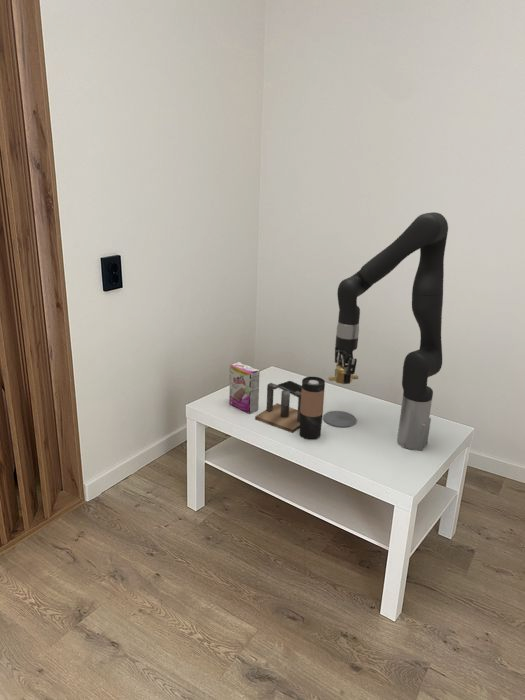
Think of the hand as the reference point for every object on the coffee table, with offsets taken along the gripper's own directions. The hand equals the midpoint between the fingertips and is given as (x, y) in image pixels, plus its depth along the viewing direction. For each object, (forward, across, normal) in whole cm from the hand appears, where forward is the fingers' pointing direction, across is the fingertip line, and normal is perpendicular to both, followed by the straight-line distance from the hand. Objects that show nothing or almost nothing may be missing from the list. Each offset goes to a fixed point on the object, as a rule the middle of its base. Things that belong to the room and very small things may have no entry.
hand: (343, 379), depth 194 cm
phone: (+17, +28, +8) cm, 33 cm away
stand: (+16, +4, +20) cm, 25 cm away
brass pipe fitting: (0, 0, 0) cm, 0 cm away
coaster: (+16, 0, 0) cm, 16 cm away
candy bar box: (+16, +16, +32) cm, 39 cm away
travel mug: (+16, -8, +14) cm, 23 cm away
